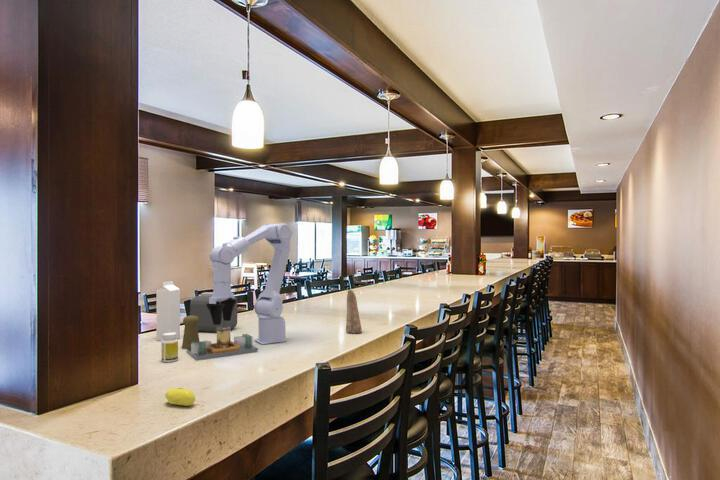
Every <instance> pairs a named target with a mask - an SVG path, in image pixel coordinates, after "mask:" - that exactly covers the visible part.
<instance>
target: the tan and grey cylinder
mask: <svg viewBox="0 0 720 480" xmlns="http://www.w3.org/2000/svg"><path fill="white" fill-rule="evenodd" d="M216 330H217V332H216V343H217V348H224V347H230V341H231V330H232V329H231V327H229V326H221V327H217V328H216Z"/></svg>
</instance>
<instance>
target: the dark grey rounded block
mask: <svg viewBox="0 0 720 480" xmlns="http://www.w3.org/2000/svg"><path fill="white" fill-rule="evenodd" d="M212 296H213V291H212V292H210V291H209V292H201V293H200V295H197V296H194V297H192V299H190V303H189V307H190V309H189V311H190V312H189V313H190V315H189V316H191V315H192V316H197V317H198V318H199V322H198V324H197V327H198V332H207V333H217V330H216V328H217V327H221V326H229V327H231V329H230V330H232V329H235V328H236V327H237V325H238V301H237V302H236V304H235V306H234V308H233V311H232V316H231V320H230V321H224V319H223V311H222V317H221V323H220V325H214V324H213V320H212V317H211V313H210V311H209V309H208V308H207V303H209V298H210V297H212ZM232 299H237V300H238V298H237V296H235V295H234V298H232ZM219 303H220V302H219ZM220 304H221V303H220Z"/></svg>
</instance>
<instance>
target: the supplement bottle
mask: <svg viewBox="0 0 720 480" xmlns="http://www.w3.org/2000/svg"><path fill="white" fill-rule="evenodd" d="M176 338H177V334H176V333H165V334H163V339H164V340H162V341H161V362H162V363H173V362H176V361H178V360H179V340H178V339H176Z"/></svg>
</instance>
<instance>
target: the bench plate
mask: <svg viewBox="0 0 720 480" xmlns="http://www.w3.org/2000/svg"><path fill="white" fill-rule="evenodd" d="M253 337H254V336H252V335H251V334H248V333H242V335H241V336H233V341H232V340H230V347H224V348H217V342H214V343H212V341H210V340H202V341H200V340H199V341H193V342H192V344H191V348H187V349H186V353H187V355H188V354H189V356H191V357H192V358H193V359H194V360H196V361H201V360H208V359H215V358H223V357H230V356H231V357H232V356H235V355H244V354H250V353H257V352H258V351H259V350H258V349H259V348H258V347H257V346H254V344H253V342H254V341H253Z"/></svg>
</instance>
